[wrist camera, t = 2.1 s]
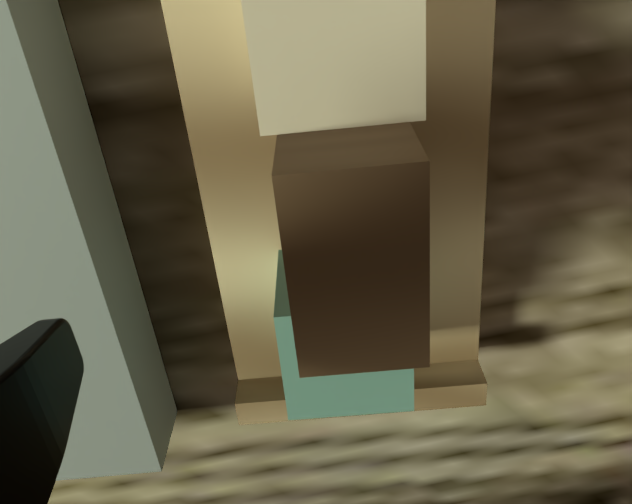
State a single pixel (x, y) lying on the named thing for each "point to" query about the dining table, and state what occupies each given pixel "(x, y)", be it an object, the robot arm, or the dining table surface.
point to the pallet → (255, 201)
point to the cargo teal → (333, 377)
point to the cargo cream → (336, 63)
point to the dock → (74, 250)
